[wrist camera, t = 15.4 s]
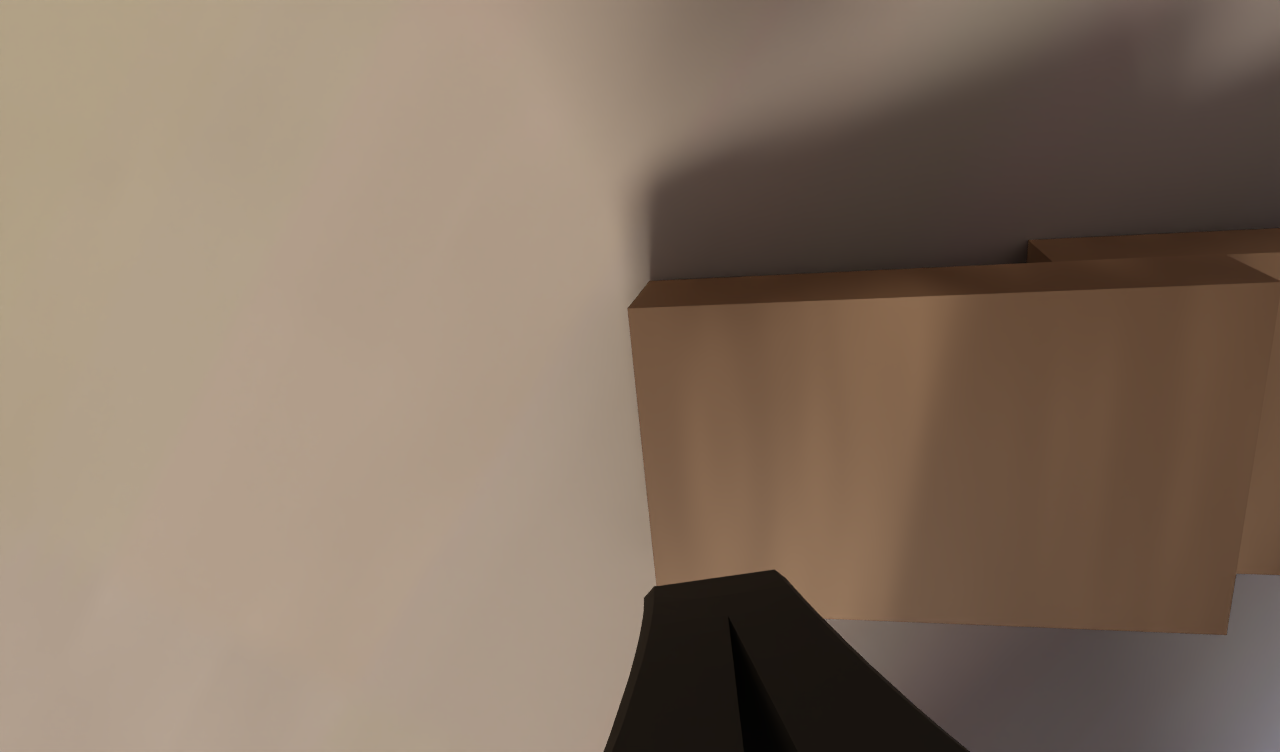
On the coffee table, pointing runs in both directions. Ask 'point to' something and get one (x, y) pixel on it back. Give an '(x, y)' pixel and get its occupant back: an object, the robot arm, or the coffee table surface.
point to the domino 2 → (1276, 496)
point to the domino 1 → (962, 437)
